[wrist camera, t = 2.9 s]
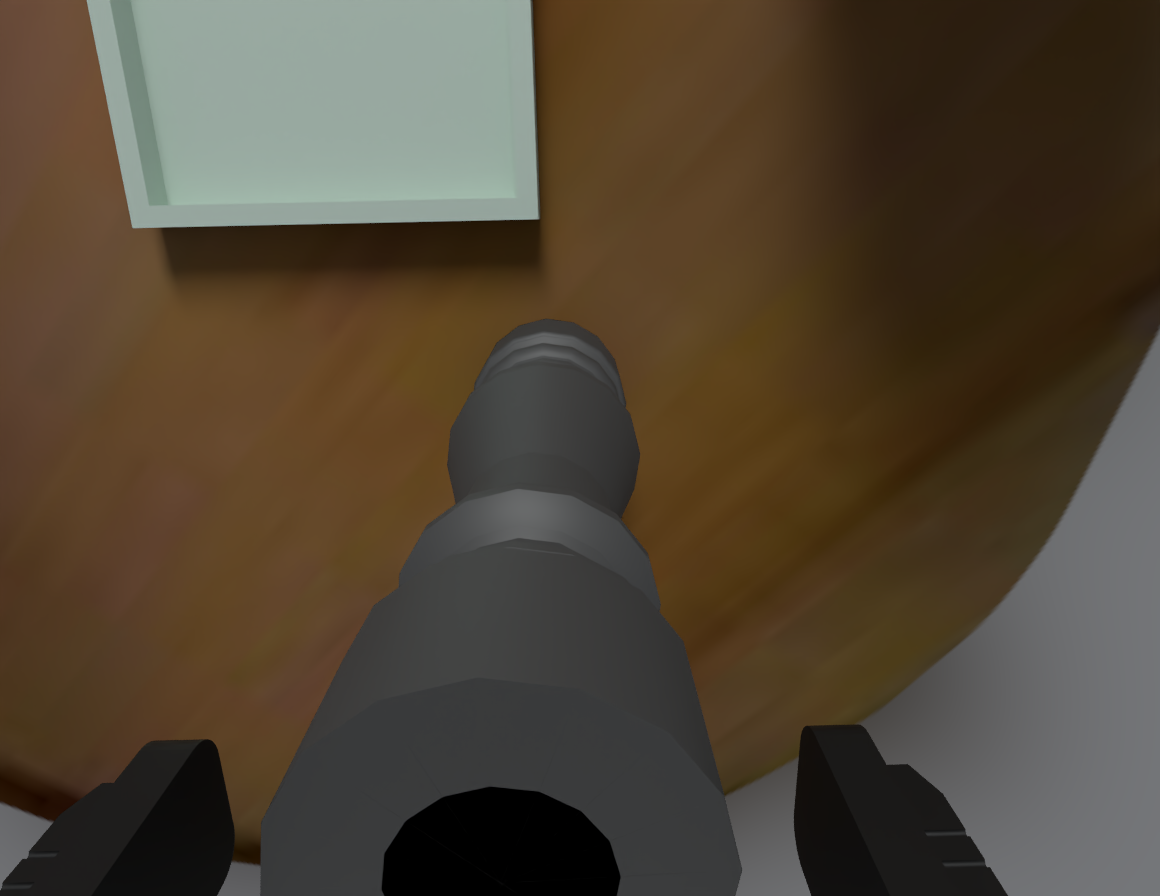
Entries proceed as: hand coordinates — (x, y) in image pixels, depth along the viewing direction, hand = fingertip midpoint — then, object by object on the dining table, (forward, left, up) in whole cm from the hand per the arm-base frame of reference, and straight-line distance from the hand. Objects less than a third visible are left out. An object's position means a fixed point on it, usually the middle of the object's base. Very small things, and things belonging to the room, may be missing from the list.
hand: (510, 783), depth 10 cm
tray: (-8, +15, -24) cm, 29 cm away
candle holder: (0, 0, -24) cm, 24 cm away
